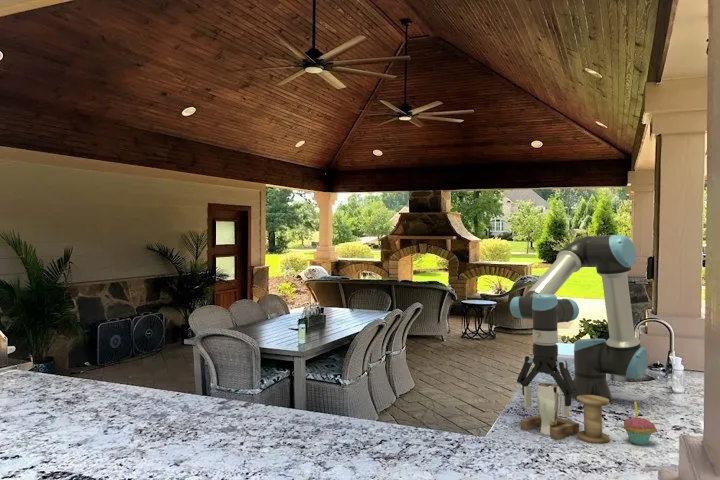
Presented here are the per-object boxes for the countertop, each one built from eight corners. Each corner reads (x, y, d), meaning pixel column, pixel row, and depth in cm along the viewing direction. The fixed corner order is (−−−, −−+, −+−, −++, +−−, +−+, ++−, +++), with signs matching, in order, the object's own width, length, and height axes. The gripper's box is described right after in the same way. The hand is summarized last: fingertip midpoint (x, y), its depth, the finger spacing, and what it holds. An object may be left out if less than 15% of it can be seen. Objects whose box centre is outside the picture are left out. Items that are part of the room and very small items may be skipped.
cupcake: (617, 437, 163) (617, 398, 164) (644, 437, 164) (643, 397, 165) (634, 447, 155) (633, 405, 155) (662, 446, 156) (661, 404, 156)
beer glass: (562, 437, 163) (561, 387, 164) (538, 435, 165) (538, 386, 165) (558, 430, 170) (558, 382, 171) (535, 429, 171) (535, 381, 172)
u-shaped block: (543, 422, 178) (543, 413, 178) (579, 432, 168) (579, 423, 168) (520, 429, 171) (520, 419, 171) (556, 440, 161) (556, 430, 161)
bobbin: (587, 432, 169) (587, 393, 169) (615, 439, 161) (614, 399, 162) (571, 437, 163) (570, 397, 164) (599, 445, 156) (598, 403, 157)
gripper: (505, 339, 177) (506, 404, 177) (574, 349, 157) (575, 423, 156) (519, 337, 182) (520, 400, 181) (588, 347, 162) (589, 418, 161)
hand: (546, 411), depth 169 cm, fingers open, 13 cm apart
